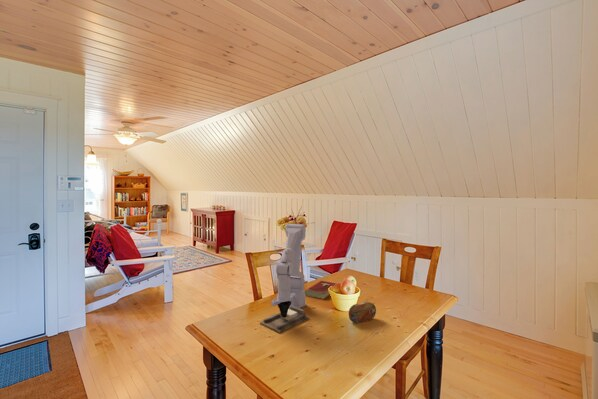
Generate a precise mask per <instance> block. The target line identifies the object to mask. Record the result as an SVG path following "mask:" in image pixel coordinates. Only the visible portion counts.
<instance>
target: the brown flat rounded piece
mask: <svg viewBox="0 0 598 399" xmlns="http://www.w3.org/2000/svg"><path fill="white" fill-rule="evenodd" d="M376 312H377V308H376V305H375V304H374V303H372V302H370V301H365V302H361V303H356V304H353V305H351V306H350V308H349V310H348V318H349V320H350V321H351V322H353V323H354V324H356V325H357V324H361V323H366V322H369V321H372V320H373V319H374V317H375V316H376V314H377V313H376Z"/></svg>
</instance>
